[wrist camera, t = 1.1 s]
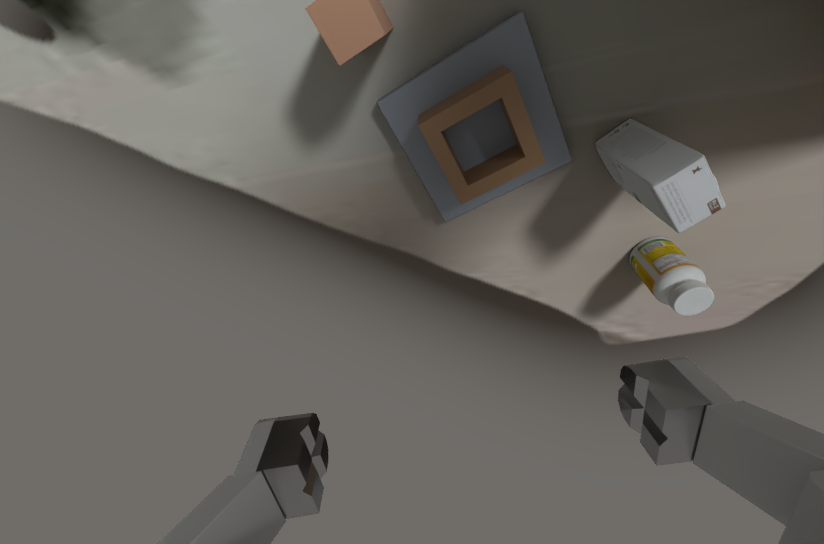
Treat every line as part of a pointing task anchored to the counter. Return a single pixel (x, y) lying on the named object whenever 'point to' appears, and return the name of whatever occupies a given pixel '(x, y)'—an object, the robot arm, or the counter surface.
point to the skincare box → (661, 174)
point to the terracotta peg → (349, 25)
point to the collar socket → (479, 120)
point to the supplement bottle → (671, 276)
